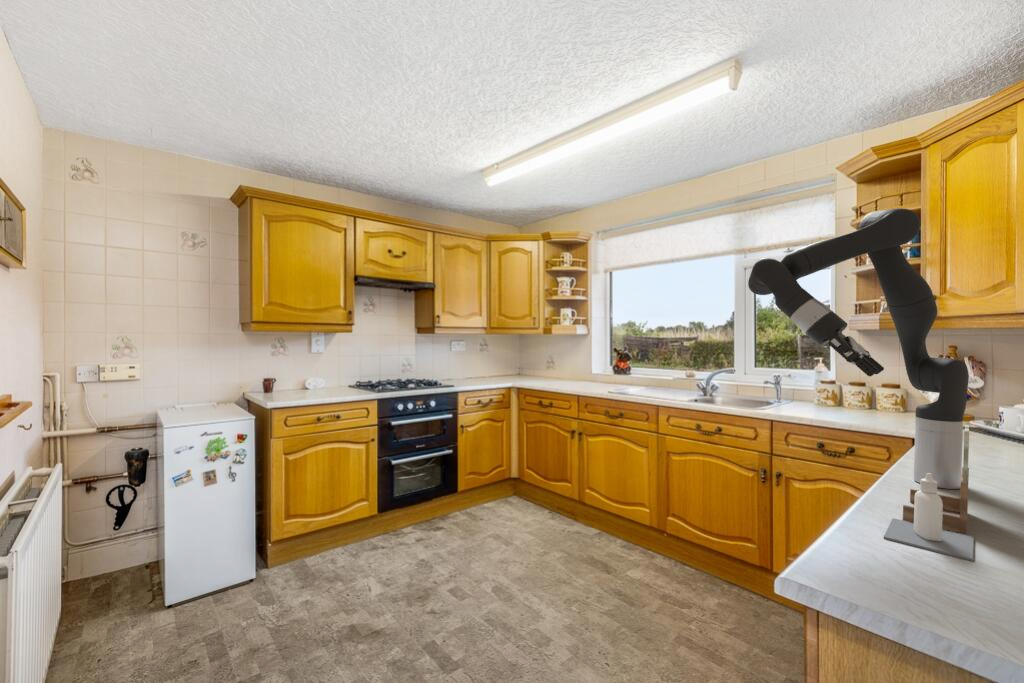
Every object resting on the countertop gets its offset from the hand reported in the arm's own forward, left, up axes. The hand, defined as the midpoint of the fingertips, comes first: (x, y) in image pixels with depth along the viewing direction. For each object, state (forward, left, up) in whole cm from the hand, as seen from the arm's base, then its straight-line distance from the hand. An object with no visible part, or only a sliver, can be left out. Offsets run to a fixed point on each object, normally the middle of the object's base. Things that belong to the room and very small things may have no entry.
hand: (877, 372), depth 102 cm
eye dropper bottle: (+11, +9, -30) cm, 34 cm away
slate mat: (+11, +10, -30) cm, 34 cm away
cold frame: (-5, +10, -30) cm, 32 cm away
